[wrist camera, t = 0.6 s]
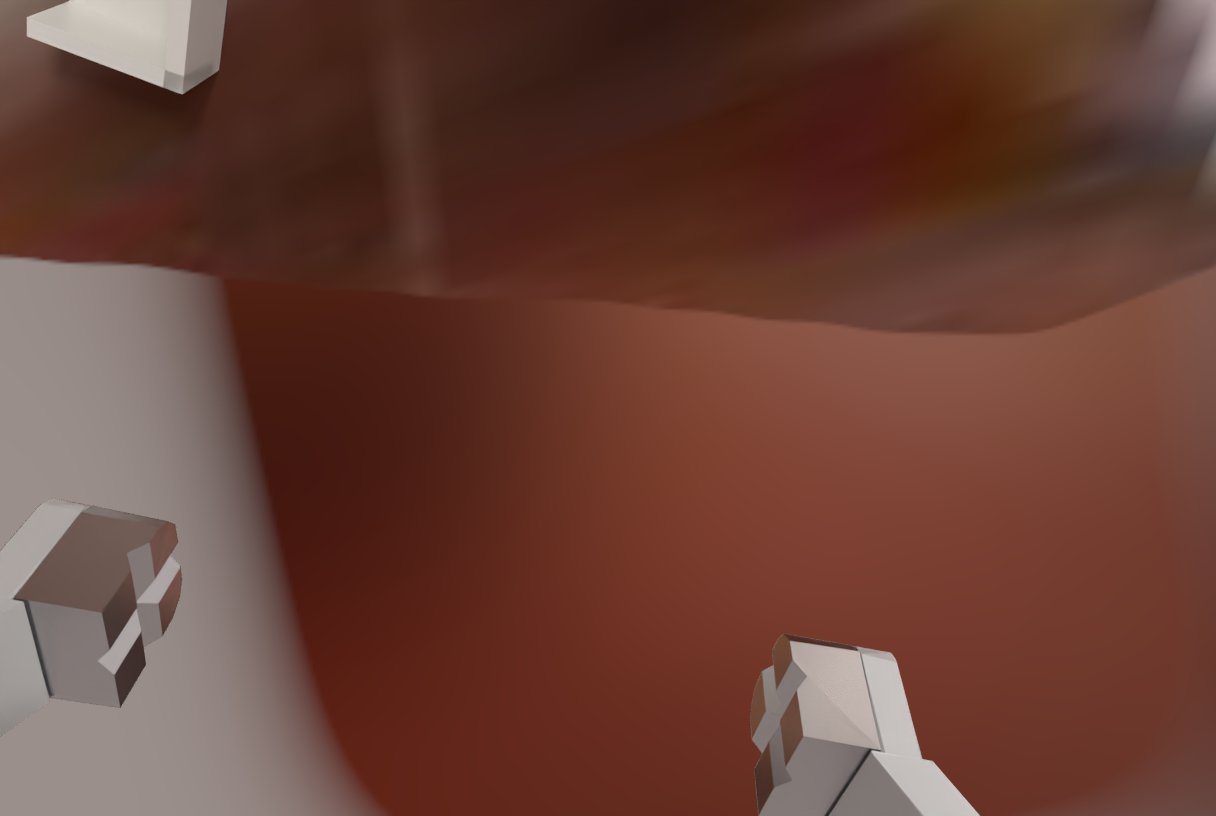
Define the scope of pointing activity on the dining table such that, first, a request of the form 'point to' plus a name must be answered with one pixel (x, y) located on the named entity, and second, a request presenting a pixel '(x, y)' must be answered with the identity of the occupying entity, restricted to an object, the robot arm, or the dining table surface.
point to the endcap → (140, 37)
